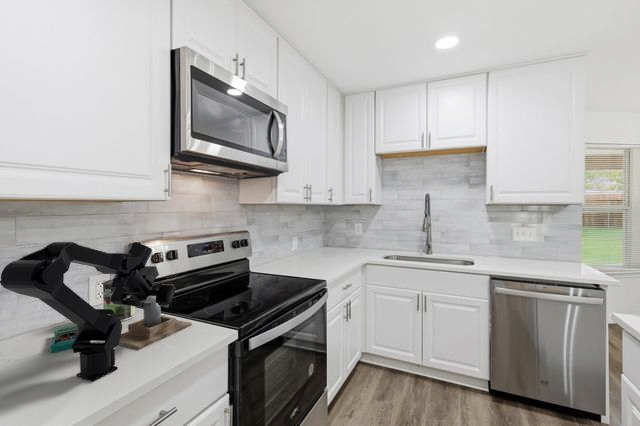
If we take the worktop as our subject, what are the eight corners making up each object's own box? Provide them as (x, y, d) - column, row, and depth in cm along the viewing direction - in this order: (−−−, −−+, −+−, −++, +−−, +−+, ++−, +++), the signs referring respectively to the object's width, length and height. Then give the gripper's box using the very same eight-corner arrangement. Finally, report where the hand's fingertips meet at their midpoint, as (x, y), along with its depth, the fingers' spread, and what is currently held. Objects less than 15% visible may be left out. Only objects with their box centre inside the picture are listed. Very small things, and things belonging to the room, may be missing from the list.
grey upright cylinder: (157, 333, 102) (156, 296, 101) (141, 333, 101) (140, 297, 101) (163, 327, 107) (162, 292, 106) (148, 327, 106) (147, 293, 106)
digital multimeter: (50, 355, 90) (49, 345, 89) (55, 337, 102) (54, 328, 101) (82, 348, 94) (81, 338, 94) (83, 332, 106) (83, 323, 106)
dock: (139, 349, 92) (139, 336, 92) (108, 341, 97) (108, 329, 97) (191, 325, 110) (191, 314, 110) (163, 319, 116) (163, 309, 116)
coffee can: (119, 323, 112) (118, 285, 111) (96, 321, 114) (95, 283, 114) (142, 314, 122) (141, 278, 121) (120, 312, 124) (119, 277, 124)
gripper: (172, 259, 99) (189, 285, 110) (115, 259, 100) (138, 284, 111) (159, 291, 91) (178, 315, 103) (97, 290, 92) (123, 314, 103)
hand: (154, 306), depth 105 cm, fingers open, 9 cm apart
